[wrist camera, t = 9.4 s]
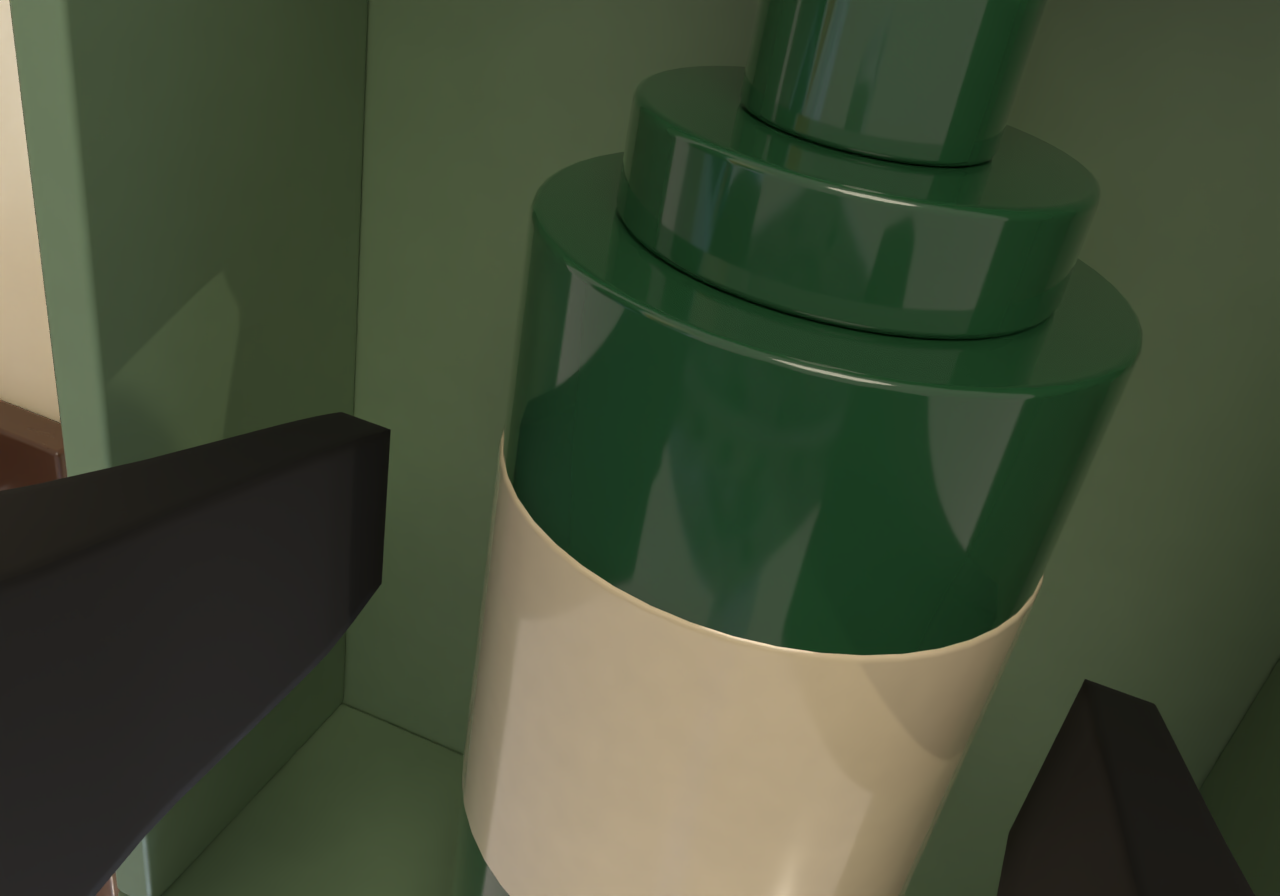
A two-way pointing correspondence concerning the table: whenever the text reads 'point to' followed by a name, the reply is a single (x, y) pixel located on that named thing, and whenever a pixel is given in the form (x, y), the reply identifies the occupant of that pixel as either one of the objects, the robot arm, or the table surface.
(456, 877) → the bottle
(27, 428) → the rack
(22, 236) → the table surface
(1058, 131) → the basket
